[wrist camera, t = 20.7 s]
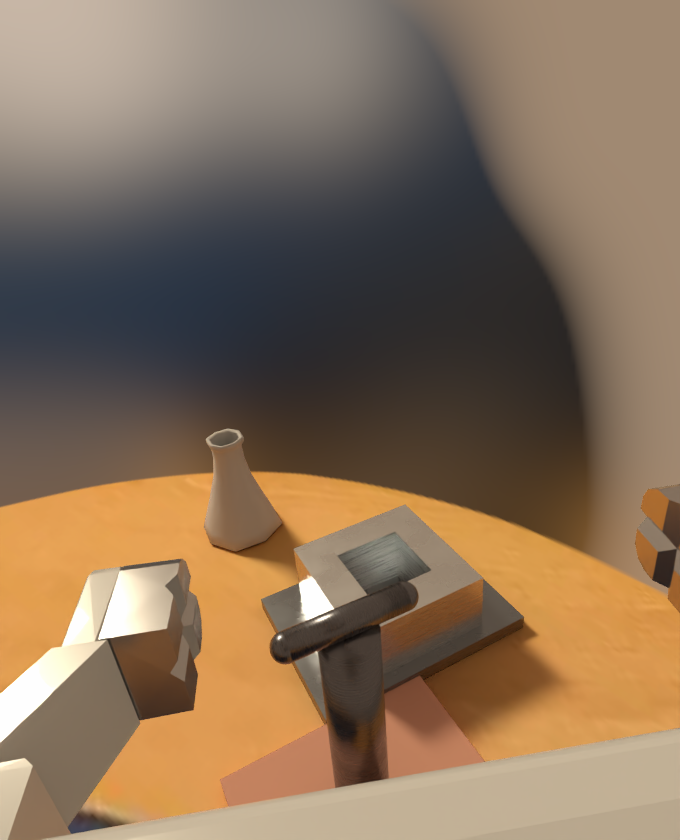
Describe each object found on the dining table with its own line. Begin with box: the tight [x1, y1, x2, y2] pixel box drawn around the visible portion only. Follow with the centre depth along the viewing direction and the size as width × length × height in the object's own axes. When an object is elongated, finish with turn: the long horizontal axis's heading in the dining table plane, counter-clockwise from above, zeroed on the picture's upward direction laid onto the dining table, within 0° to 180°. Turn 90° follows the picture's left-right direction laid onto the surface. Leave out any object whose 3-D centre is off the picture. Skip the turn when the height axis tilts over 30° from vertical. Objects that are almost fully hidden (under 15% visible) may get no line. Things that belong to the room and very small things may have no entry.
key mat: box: [220, 675, 485, 806], centre depth 33 cm, size 14×10×1 cm
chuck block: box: [261, 505, 524, 725], centre depth 44 cm, size 16×12×6 cm
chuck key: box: [270, 581, 419, 788], centre depth 30 cm, size 7×3×14 cm, turn 116°
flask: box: [204, 429, 282, 552], centre depth 55 cm, size 7×7×10 cm
